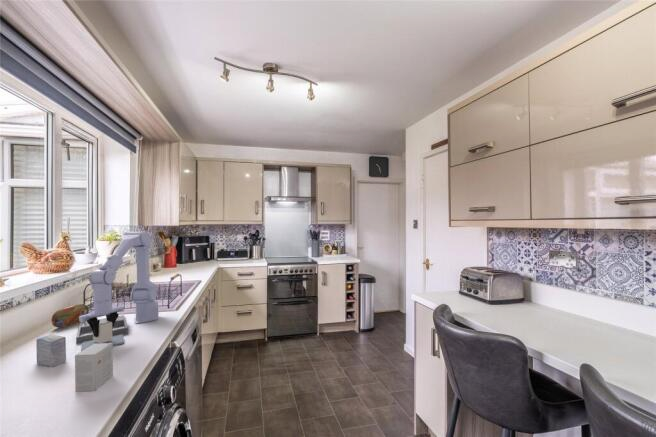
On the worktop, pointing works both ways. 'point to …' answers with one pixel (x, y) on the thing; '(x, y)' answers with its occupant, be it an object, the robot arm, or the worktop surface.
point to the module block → (104, 332)
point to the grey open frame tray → (86, 327)
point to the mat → (115, 340)
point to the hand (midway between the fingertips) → (103, 334)
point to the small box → (93, 366)
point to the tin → (69, 315)
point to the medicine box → (51, 350)
